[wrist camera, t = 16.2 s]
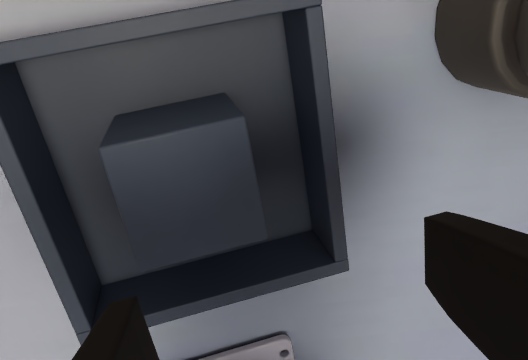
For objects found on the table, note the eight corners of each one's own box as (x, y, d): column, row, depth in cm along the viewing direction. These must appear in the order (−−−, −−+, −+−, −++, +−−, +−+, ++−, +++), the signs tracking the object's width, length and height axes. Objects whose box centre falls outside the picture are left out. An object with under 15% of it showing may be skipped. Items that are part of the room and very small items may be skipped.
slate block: (246, 190, 19) (268, 239, 15) (145, 215, 18) (140, 273, 14) (225, 91, 17) (245, 115, 13) (114, 115, 16) (96, 148, 12)
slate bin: (321, 232, 21) (349, 270, 18) (94, 292, 19) (81, 346, 16) (290, -9, 17) (320, -16, 13) (-6, 44, 15) (-52, 51, 12)
